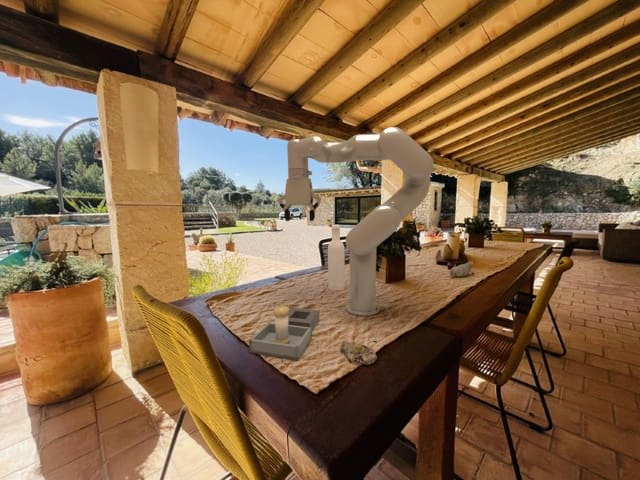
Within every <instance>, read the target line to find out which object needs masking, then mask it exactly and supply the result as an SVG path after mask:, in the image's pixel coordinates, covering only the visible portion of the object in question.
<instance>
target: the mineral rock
mask: <svg viewBox="0 0 640 480" xmlns="http://www.w3.org/2000/svg"><path fill="white" fill-rule="evenodd" d="M340 351H341V352H340V353H341V354H343V356H345V357H347V361H348V362H349V363H351V364H353V365H354V364H355V365H358V366H362V365H365V366H366V365H367V366H368V365H372V364H374V362H376V361H377V359H378V358H377V357H378V356H377V354H376V351H375V350H374V349H373V348H372V347H369V346H367V345H364V344H359V343H357V342H356V341H353V342H351V343H350V342H348V341H345V340H344V341H342V342H341V345H340Z"/></svg>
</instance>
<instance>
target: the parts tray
mask: <svg viewBox="0 0 640 480" xmlns="http://www.w3.org/2000/svg"><path fill="white" fill-rule="evenodd" d="M288 331H289V344H283V343H276V342H275V337H276V334H275V322H267V323H266V324H265V325H264V326H263V327H261V329H259V331H257V332H256V333H255V334H254V335H253V336H252V337H251V338H250V339H248V348H249V349H248V350H249V353H251V354H256V355H263V356H270V357H276V358H282V359H287V360H293V361H294V360H295V361H299V360H300V359H301V358H302V355H304V352H305V351H306V349H307V347H308V346H309V344H310V343H311V341H312V340H313V330H312V328H311V327H302V326H294V325H288Z"/></svg>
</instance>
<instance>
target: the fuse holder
mask: <svg viewBox="0 0 640 480" xmlns="http://www.w3.org/2000/svg"><path fill="white" fill-rule="evenodd" d="M319 322H320V310H319V309H318V310H316V309H310V308H309V309H307V308H298V307H291V308H289V314H288V325H294V326H302V327H311V328H312V331H314V329H315V327H316V326H317V324H318V323H319Z"/></svg>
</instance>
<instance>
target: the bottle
mask: <svg viewBox="0 0 640 480" xmlns="http://www.w3.org/2000/svg"><path fill="white" fill-rule="evenodd" d="M340 231H341V227H340V224H332V225H331V240H330V242H328V246H327V283H328V284H327V286H328V290H329V291H333V292H334V291H335V292H339V291H344V290H345V287H346V281H345V280H346V277H345V273H346V272H345V245H344V242H342V241H341V236H340V234H341V232H340Z"/></svg>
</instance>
